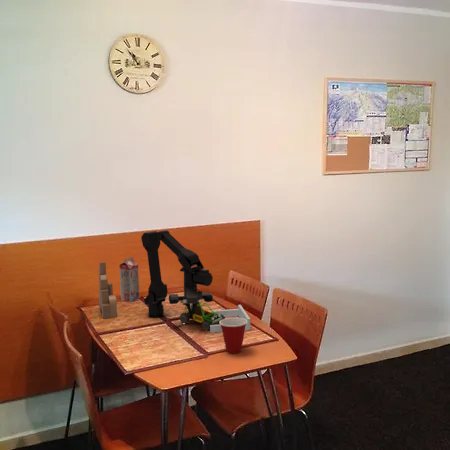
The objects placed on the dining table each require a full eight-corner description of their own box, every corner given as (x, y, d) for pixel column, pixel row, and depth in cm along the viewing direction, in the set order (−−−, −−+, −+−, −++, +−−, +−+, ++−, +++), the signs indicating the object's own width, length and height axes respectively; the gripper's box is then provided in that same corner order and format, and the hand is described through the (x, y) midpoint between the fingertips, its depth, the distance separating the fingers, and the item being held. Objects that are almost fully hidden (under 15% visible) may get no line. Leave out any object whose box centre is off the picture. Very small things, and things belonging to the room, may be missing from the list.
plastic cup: (239, 342, 192) (239, 314, 190) (252, 352, 183) (252, 322, 181) (214, 347, 187) (214, 318, 185) (227, 358, 178) (227, 327, 176)
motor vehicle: (209, 331, 204) (209, 307, 203) (175, 322, 216) (175, 299, 214) (225, 323, 213) (225, 301, 212) (192, 315, 225) (192, 293, 223)
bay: (210, 332, 203) (210, 321, 202) (204, 317, 221) (204, 307, 221) (250, 330, 206) (250, 318, 205) (240, 315, 224) (240, 304, 224)
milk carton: (139, 298, 250) (137, 257, 246) (130, 302, 244) (128, 260, 241) (129, 296, 253) (128, 256, 250) (120, 300, 248) (119, 258, 244)
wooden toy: (118, 317, 223) (115, 264, 219) (103, 319, 220) (100, 266, 216) (112, 307, 237) (110, 257, 233) (99, 308, 234) (96, 258, 231)
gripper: (169, 288, 198) (170, 324, 200) (214, 286, 201) (214, 321, 203) (168, 281, 209) (169, 316, 211) (210, 279, 212) (211, 313, 214)
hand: (191, 317), depth 210 cm, fingers closed
